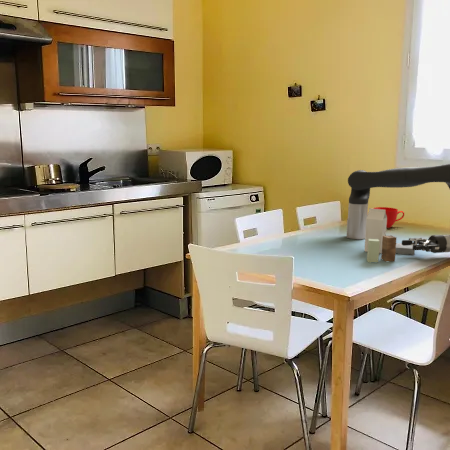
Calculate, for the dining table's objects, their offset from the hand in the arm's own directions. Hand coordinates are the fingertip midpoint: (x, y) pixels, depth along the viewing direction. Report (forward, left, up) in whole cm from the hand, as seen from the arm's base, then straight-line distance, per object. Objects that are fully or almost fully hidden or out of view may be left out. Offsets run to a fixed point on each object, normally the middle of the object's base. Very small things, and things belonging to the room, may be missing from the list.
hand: (407, 245), depth 217 cm
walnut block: (-7, -4, -6) cm, 10 cm away
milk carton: (-13, +10, -6) cm, 18 cm away
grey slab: (-1, +14, -6) cm, 15 cm away
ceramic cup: (-9, +69, -6) cm, 70 cm away
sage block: (-13, -8, -6) cm, 17 cm away
